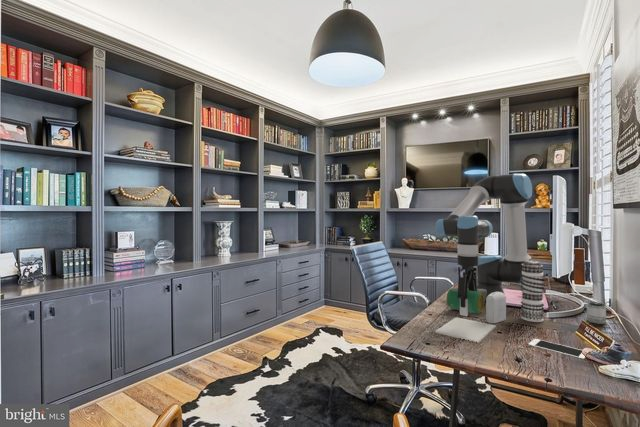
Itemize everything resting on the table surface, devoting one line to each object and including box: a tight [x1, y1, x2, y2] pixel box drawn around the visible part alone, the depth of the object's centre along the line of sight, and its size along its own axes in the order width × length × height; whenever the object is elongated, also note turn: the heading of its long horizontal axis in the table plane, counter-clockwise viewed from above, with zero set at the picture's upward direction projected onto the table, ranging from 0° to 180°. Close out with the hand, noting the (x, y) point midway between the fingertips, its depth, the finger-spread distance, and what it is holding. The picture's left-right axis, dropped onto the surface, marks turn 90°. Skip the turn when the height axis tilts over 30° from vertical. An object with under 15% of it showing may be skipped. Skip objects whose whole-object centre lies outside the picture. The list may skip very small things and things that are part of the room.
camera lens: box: [586, 301, 607, 325], centre depth 146 cm, size 6×6×8 cm
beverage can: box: [446, 287, 485, 314], centre depth 137 cm, size 8×8×12 cm
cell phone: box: [527, 338, 586, 360], centre depth 119 cm, size 8×16×1 cm, turn 42°
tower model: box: [519, 260, 546, 323], centre depth 150 cm, size 9×9×25 cm
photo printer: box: [485, 292, 507, 324], centre depth 148 cm, size 10×4×12 cm, turn 123°
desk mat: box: [434, 316, 496, 344], centre depth 138 cm, size 22×16×1 cm
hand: (467, 312), depth 136 cm, fingers closed on beverage can, 8 cm apart
